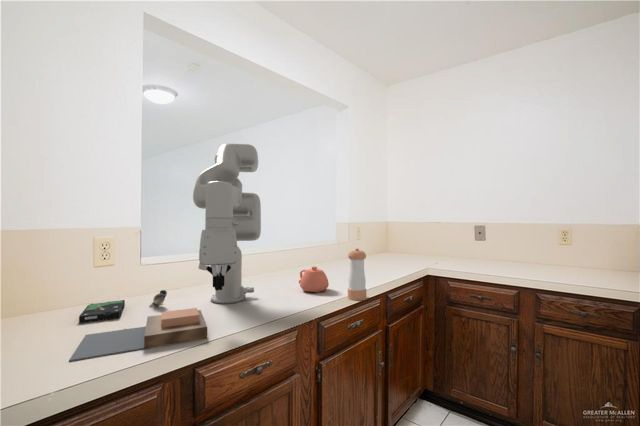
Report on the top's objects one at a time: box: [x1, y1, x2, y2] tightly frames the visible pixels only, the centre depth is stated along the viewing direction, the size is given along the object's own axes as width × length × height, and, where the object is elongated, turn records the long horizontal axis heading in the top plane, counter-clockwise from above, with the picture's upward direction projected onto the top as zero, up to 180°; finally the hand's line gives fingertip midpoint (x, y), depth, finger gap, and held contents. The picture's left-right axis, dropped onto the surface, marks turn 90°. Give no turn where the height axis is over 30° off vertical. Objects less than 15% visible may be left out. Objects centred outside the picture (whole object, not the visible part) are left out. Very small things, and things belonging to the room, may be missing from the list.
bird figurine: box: [148, 289, 168, 308], centre depth 106 cm, size 5×5×6 cm
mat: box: [68, 325, 146, 363], centre depth 75 cm, size 14×16×1 cm
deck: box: [143, 309, 208, 350], centre depth 82 cm, size 14×16×3 cm
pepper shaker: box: [347, 248, 367, 301], centre depth 118 cm, size 7×7×19 cm
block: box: [160, 307, 199, 328], centre depth 82 cm, size 9×7×2 cm
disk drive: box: [78, 299, 126, 324], centre depth 98 cm, size 10×3×15 cm
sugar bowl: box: [298, 266, 329, 293], centre depth 131 cm, size 12×14×10 cm
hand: (218, 289), depth 86 cm, fingers closed
